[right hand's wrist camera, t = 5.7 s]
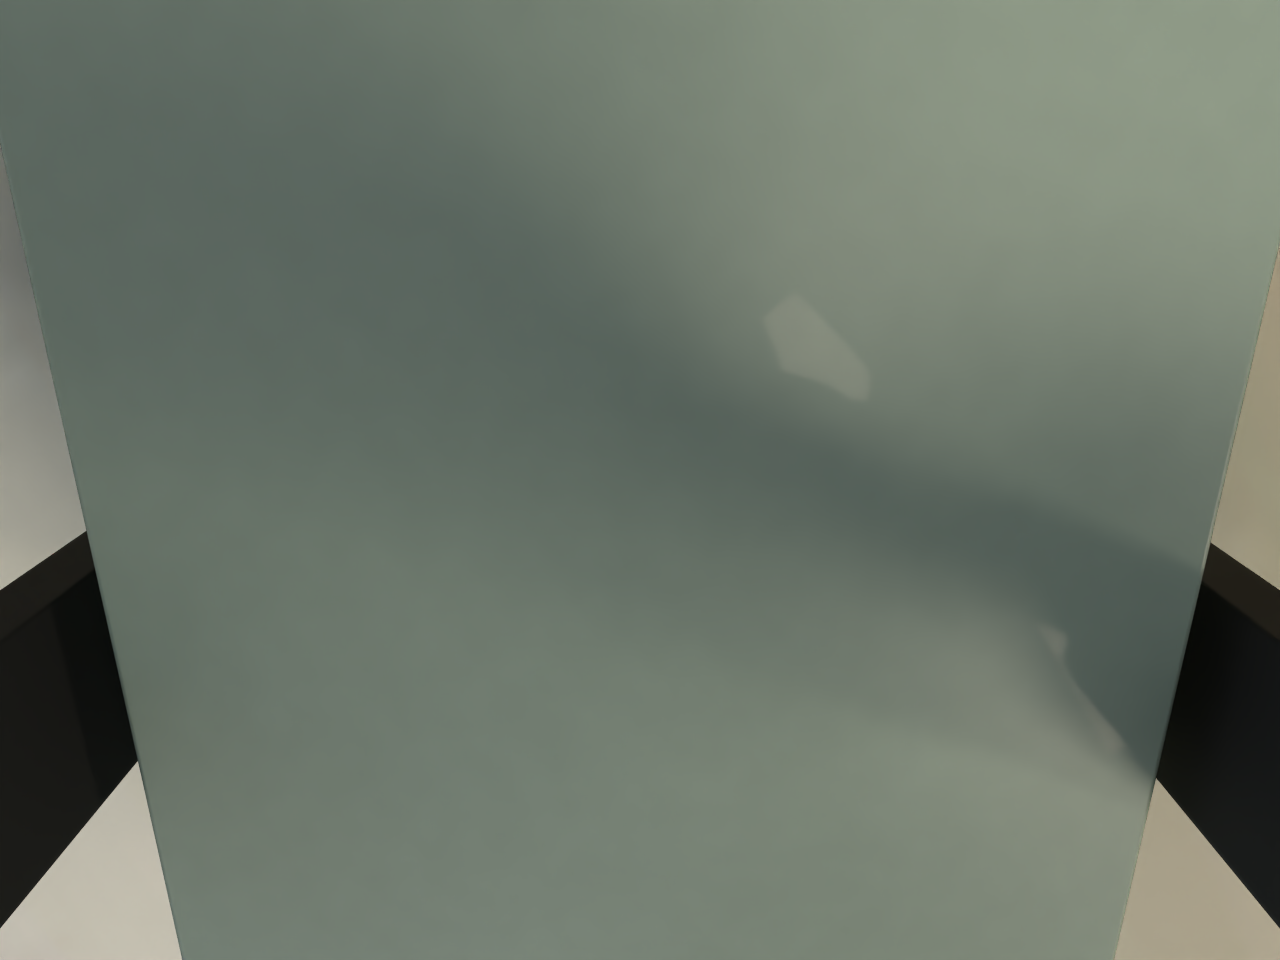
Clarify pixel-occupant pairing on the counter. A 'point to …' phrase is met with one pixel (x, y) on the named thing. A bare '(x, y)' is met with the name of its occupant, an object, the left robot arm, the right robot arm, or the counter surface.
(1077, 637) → the cabinet
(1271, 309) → the counter surface
